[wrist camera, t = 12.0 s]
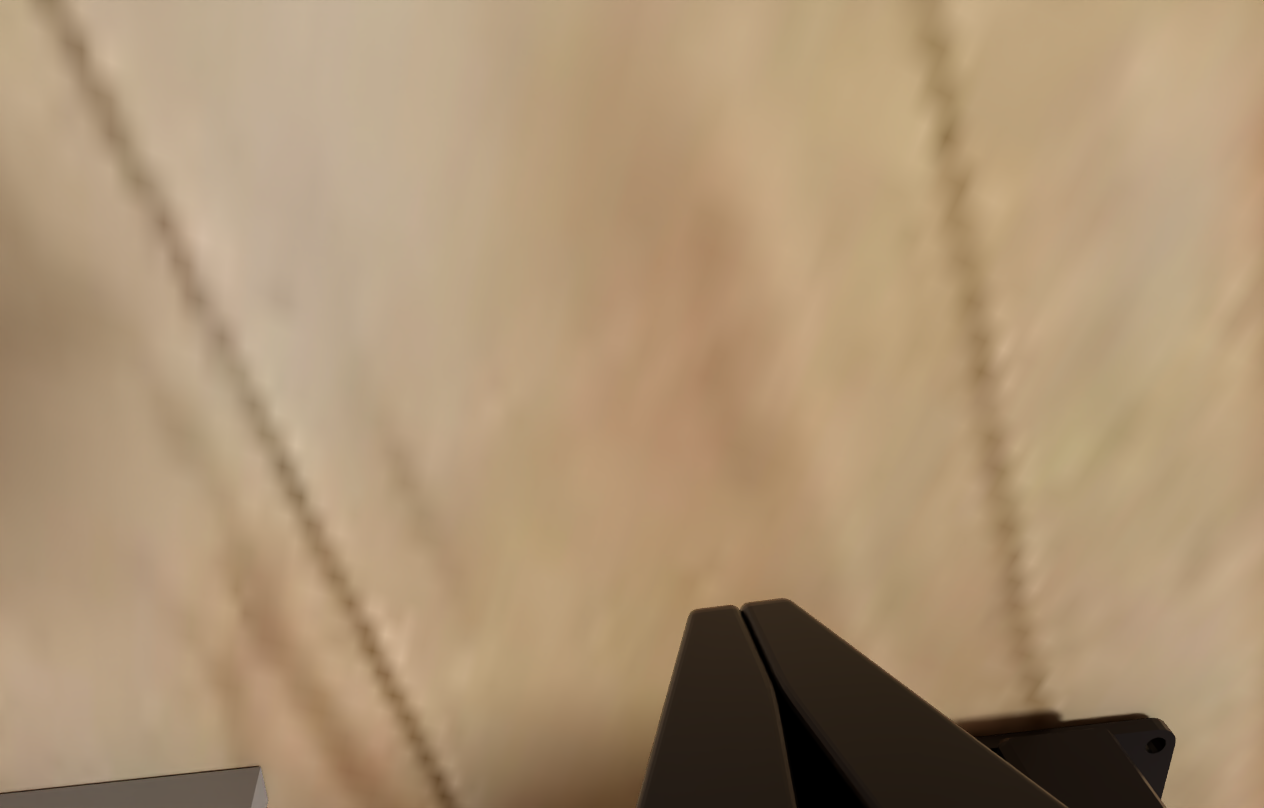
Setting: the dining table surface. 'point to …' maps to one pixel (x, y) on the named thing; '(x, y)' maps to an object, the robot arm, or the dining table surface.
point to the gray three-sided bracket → (154, 793)
